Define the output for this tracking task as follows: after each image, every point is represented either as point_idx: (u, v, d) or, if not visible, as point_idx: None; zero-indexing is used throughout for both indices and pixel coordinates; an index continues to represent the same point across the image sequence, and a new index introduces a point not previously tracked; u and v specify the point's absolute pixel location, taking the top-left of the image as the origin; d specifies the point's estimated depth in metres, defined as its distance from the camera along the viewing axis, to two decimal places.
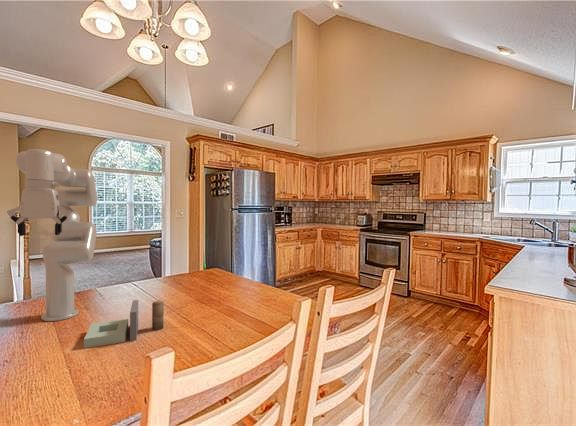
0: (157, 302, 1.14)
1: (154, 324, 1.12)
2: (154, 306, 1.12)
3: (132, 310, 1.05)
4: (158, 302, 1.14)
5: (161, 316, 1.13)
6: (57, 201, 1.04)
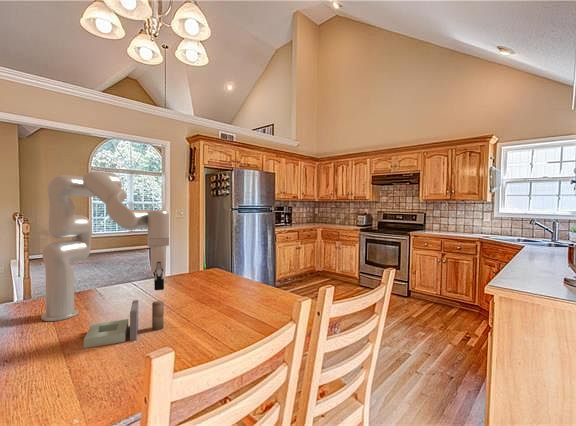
0: (157, 302, 1.14)
1: (154, 324, 1.12)
2: (154, 306, 1.12)
3: (132, 310, 1.05)
4: (158, 302, 1.14)
5: (161, 316, 1.13)
6: None
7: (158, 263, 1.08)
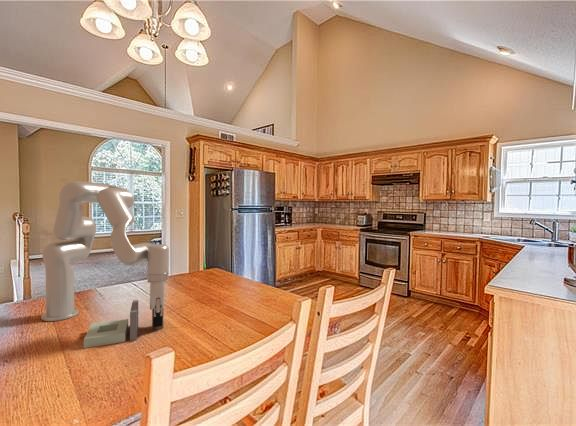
0: None
1: None
2: None
3: (132, 310, 1.05)
4: None
5: None
6: None
7: (157, 301, 1.09)
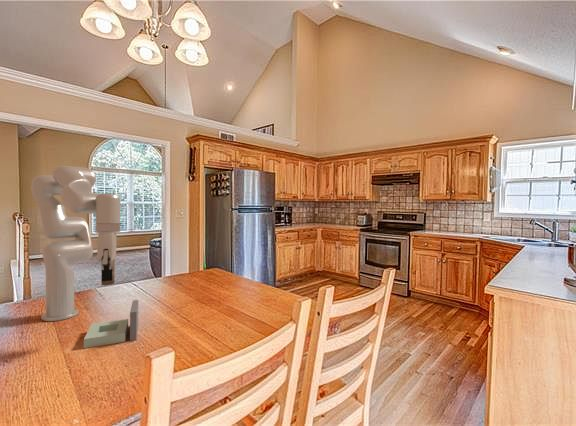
0: None
1: None
2: None
3: (132, 310, 1.05)
4: None
5: None
6: None
7: (105, 253, 1.01)
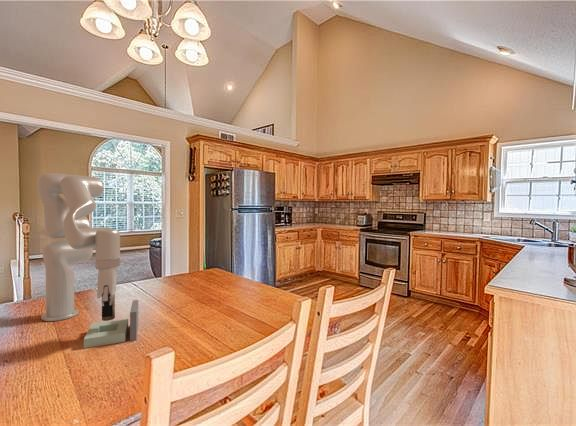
0: None
1: None
2: None
3: (132, 310, 1.05)
4: None
5: None
6: None
7: (105, 289, 1.01)
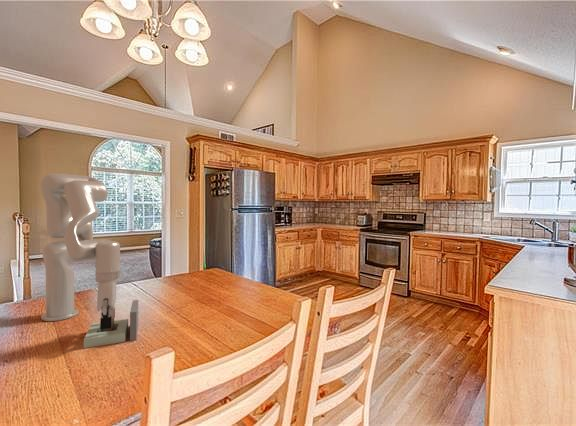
0: None
1: None
2: None
3: (132, 310, 1.05)
4: None
5: (111, 323, 1.05)
6: None
7: (105, 300, 1.01)
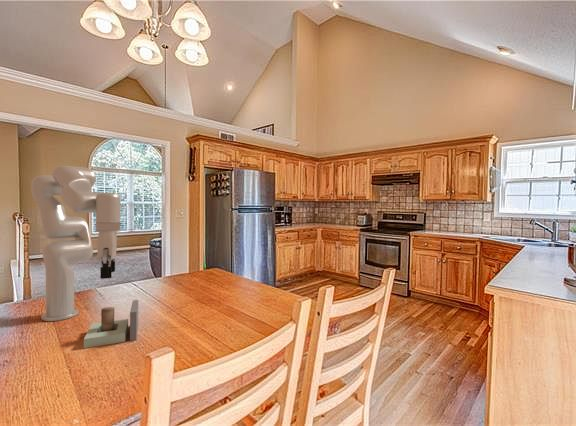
0: (107, 309, 1.06)
1: None
2: (103, 313, 1.04)
3: (132, 310, 1.05)
4: (108, 308, 1.06)
5: (110, 323, 1.05)
6: None
7: (105, 249, 1.01)
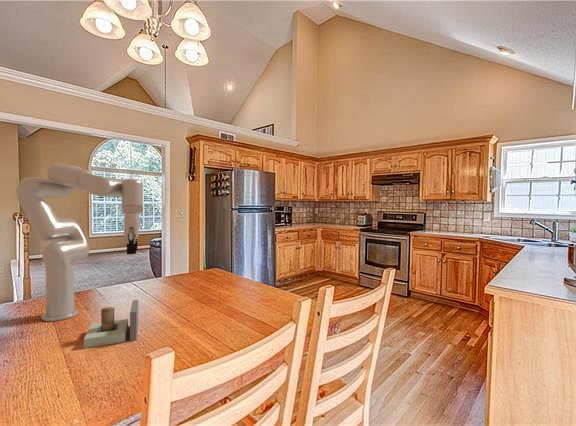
0: (107, 309, 1.06)
1: None
2: (103, 313, 1.04)
3: (132, 310, 1.05)
4: (108, 308, 1.06)
5: (111, 323, 1.05)
6: None
7: (130, 228, 1.14)
